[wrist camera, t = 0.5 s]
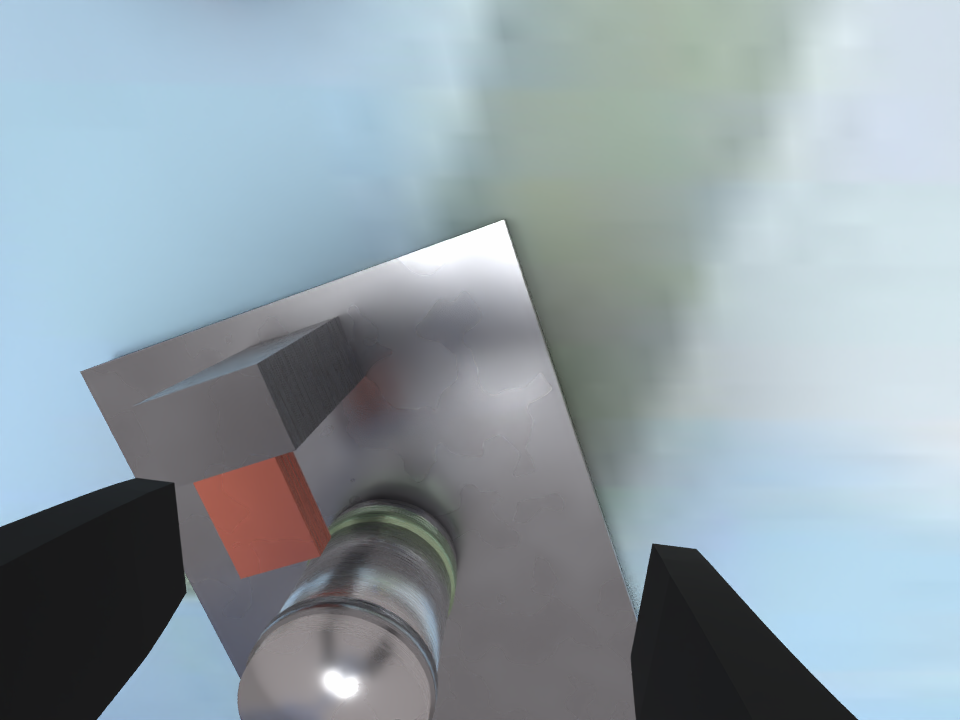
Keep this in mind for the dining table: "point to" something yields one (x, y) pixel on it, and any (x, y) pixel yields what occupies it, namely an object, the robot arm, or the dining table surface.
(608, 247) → the dining table surface
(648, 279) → the dining table surface
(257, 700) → the silver metal canister
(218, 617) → the stand
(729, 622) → the robot arm
